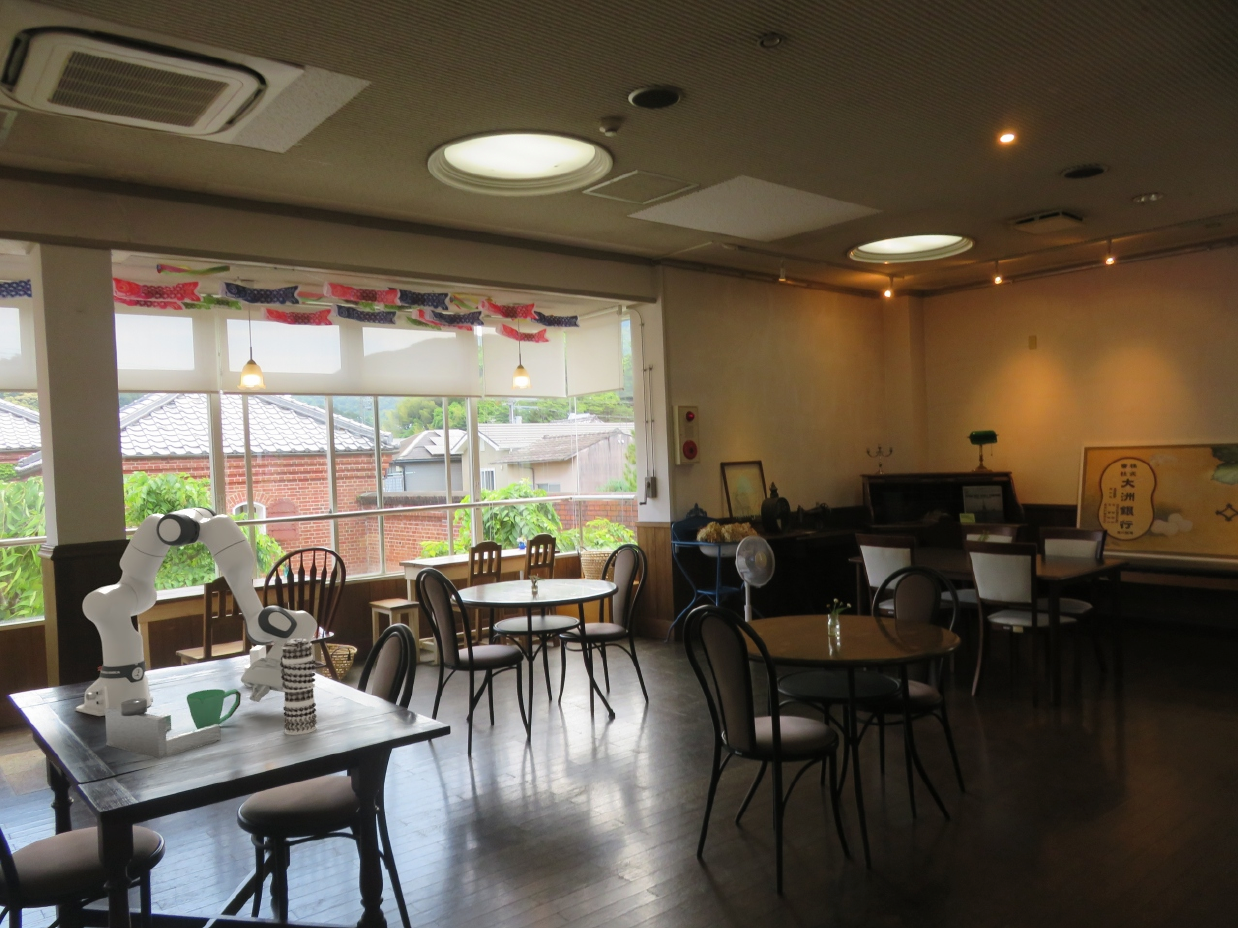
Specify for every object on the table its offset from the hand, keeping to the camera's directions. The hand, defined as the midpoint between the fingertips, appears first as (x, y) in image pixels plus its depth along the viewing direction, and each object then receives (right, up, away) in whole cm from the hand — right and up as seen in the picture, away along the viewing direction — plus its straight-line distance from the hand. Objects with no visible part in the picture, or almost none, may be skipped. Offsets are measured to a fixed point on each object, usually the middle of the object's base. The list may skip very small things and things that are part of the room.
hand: (253, 700), depth 267 cm
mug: (-6, -5, -10) cm, 13 cm away
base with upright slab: (-15, -5, +42) cm, 45 cm away
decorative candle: (+20, -4, -17) cm, 27 cm away
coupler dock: (-15, -5, -24) cm, 29 cm away
